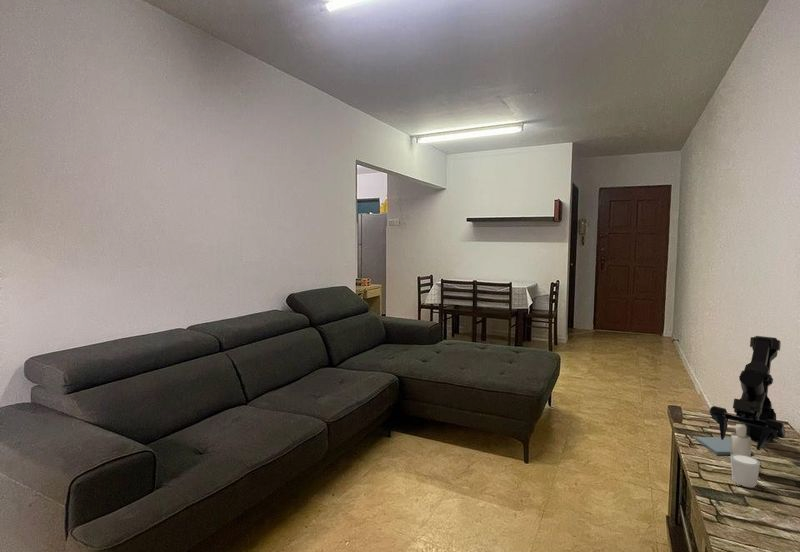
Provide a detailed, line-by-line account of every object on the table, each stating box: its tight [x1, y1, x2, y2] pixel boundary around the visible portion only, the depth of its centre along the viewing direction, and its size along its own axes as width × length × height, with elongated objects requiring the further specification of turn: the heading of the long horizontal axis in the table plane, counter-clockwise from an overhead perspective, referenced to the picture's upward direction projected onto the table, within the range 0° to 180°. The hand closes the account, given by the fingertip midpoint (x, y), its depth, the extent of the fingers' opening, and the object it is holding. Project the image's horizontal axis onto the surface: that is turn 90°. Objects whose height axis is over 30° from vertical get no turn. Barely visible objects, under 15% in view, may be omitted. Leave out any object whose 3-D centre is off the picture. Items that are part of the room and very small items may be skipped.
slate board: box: [695, 436, 754, 456], centre depth 149 cm, size 12×11×1 cm
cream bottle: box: [729, 423, 752, 463], centre depth 137 cm, size 5×5×12 cm
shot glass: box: [730, 454, 761, 488], centre depth 127 cm, size 7×7×7 cm
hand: (739, 444), depth 136 cm, fingers open, 9 cm apart
